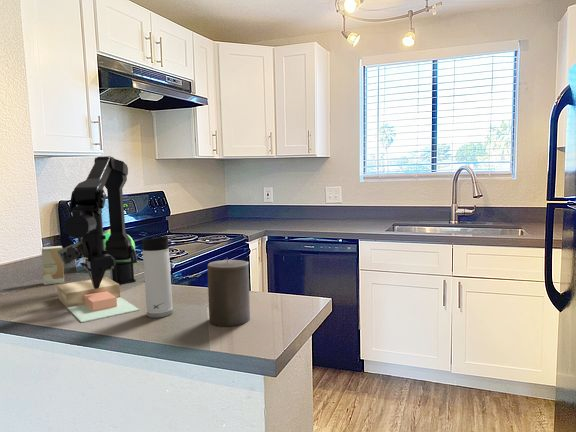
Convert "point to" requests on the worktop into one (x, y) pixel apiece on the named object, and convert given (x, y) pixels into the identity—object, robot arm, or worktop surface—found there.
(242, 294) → the pillar candle
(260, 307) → the worktop surface
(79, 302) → the tan block
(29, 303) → the worktop surface
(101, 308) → the salmon pink block
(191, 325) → the worktop surface
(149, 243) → the travel mug
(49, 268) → the skincare box
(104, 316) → the mat
